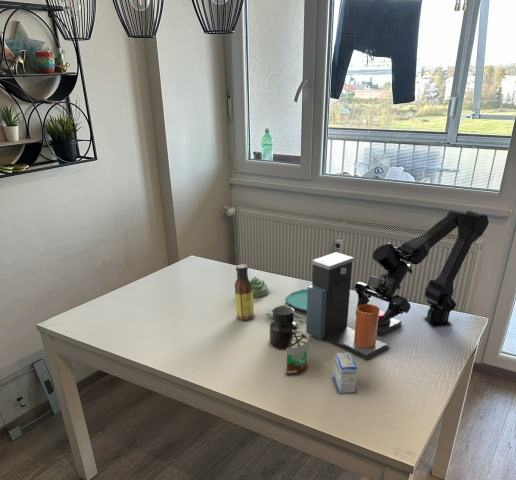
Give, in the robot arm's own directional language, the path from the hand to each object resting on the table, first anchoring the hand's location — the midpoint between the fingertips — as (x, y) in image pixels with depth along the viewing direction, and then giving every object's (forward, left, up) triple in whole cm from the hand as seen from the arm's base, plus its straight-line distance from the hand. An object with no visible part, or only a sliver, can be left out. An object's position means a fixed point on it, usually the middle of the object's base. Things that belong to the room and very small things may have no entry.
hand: (367, 319), depth 154 cm
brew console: (-11, -13, -10) cm, 19 cm away
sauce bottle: (+34, -31, -10) cm, 47 cm away
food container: (+24, +7, -10) cm, 27 cm away
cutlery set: (+11, -33, -10) cm, 36 cm away
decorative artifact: (+26, -52, -10) cm, 59 cm away
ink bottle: (+25, -9, -10) cm, 29 cm away
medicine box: (+14, +19, -10) cm, 26 cm away
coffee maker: (+5, -5, -10) cm, 12 cm away
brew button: (-11, -13, -7) cm, 18 cm away
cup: (0, 0, -8) cm, 9 cm away
